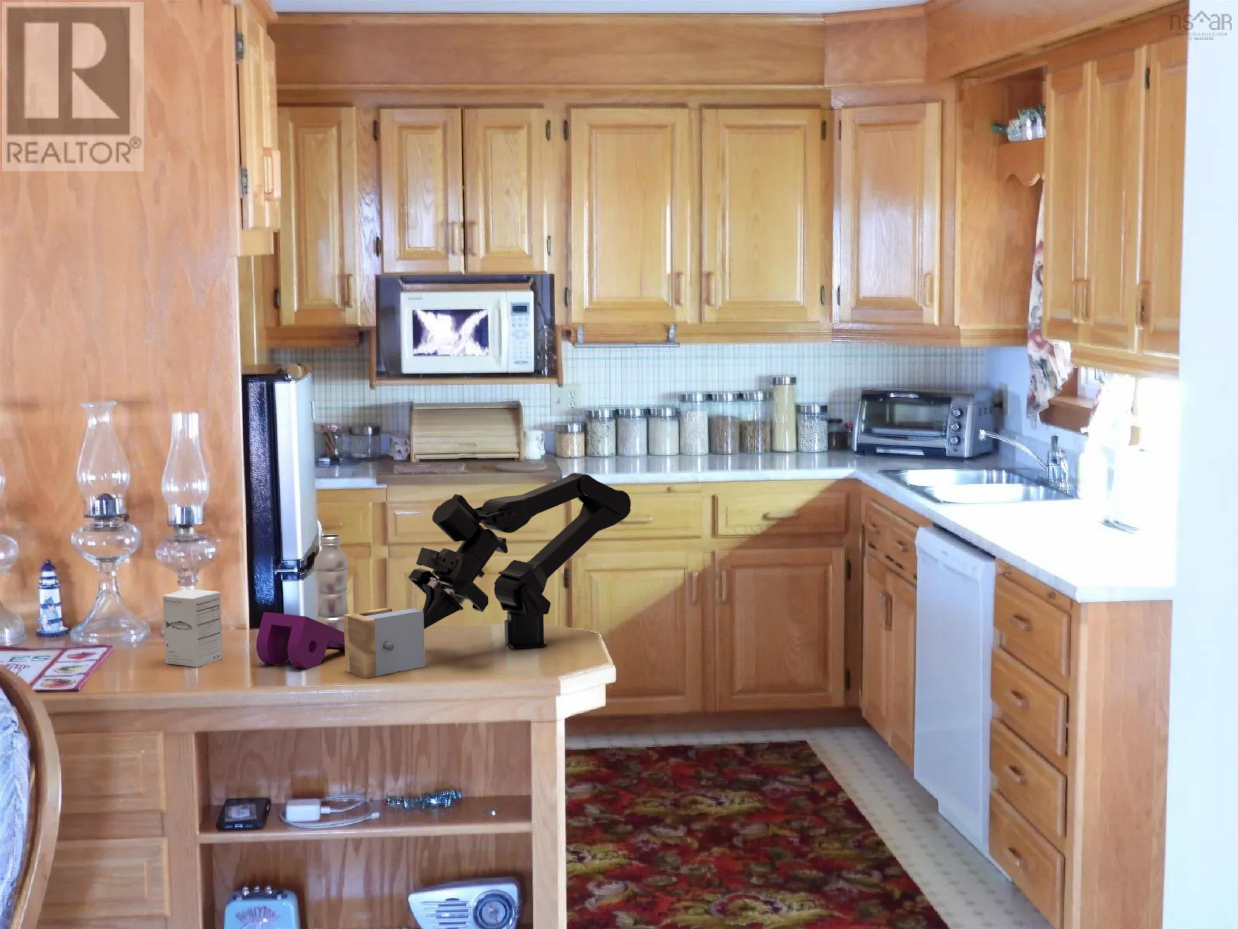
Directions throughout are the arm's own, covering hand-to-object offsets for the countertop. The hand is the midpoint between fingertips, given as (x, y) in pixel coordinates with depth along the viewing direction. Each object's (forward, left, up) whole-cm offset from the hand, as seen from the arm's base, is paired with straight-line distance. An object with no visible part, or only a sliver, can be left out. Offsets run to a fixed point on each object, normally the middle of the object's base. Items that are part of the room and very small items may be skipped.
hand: (420, 627), depth 261 cm
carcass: (+8, +1, -7) cm, 10 cm away
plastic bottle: (+12, -26, -7) cm, 29 cm away
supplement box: (+38, -18, -7) cm, 42 cm away
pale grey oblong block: (+5, +2, -7) cm, 8 cm away
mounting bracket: (+18, -13, -7) cm, 23 cm away
